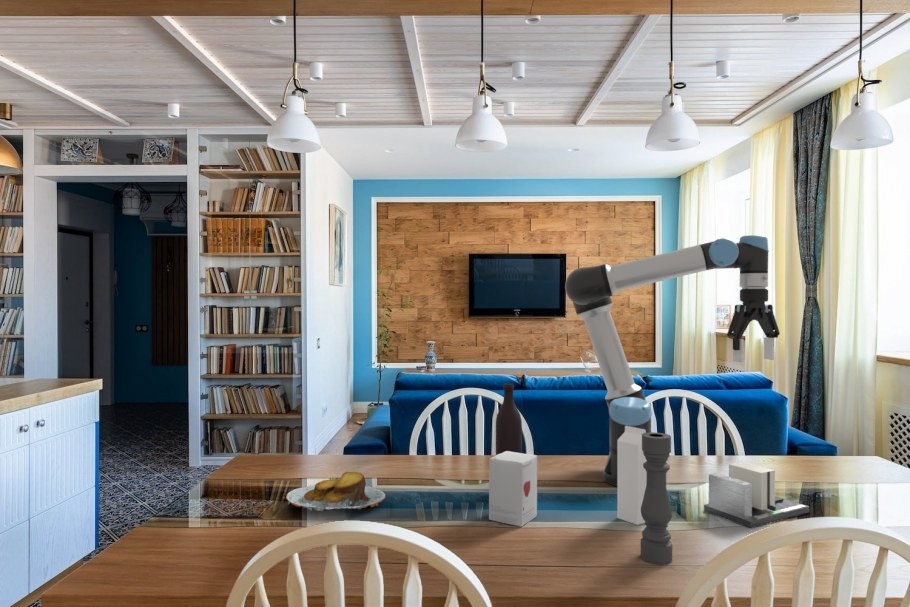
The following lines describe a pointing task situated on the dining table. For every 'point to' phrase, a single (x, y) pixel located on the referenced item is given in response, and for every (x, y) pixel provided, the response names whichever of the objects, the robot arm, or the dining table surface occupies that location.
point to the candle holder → (656, 500)
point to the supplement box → (513, 488)
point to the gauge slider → (756, 483)
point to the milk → (630, 475)
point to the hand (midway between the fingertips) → (753, 360)
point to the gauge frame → (745, 503)
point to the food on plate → (337, 494)
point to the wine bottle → (508, 424)
